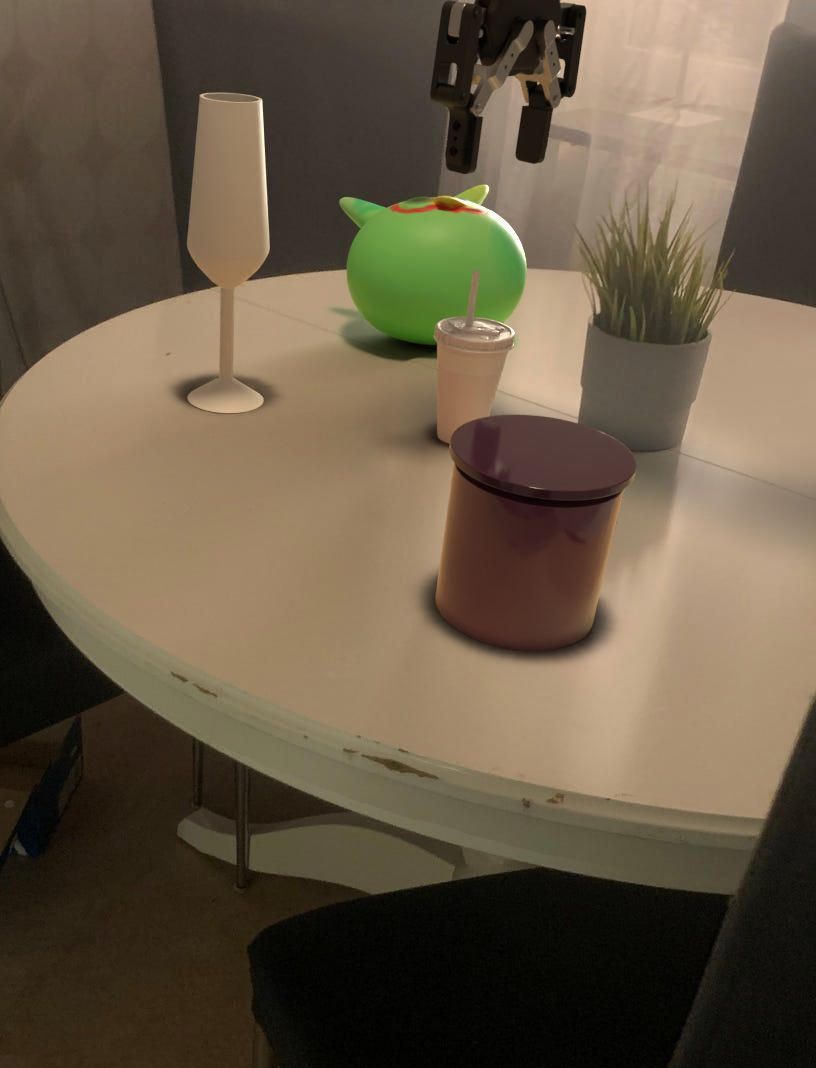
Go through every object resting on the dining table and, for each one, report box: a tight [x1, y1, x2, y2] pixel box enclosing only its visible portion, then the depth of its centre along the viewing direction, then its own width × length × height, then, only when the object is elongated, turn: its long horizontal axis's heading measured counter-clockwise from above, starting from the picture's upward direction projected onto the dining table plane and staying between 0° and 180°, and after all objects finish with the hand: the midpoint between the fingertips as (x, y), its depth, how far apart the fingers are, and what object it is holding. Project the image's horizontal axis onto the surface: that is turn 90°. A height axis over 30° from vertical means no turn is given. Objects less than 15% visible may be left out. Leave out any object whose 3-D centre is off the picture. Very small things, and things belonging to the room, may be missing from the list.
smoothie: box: [434, 271, 516, 445], centre depth 89 cm, size 6×6×14 cm
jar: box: [434, 414, 638, 651], centre depth 68 cm, size 11×11×11 cm
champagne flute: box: [186, 92, 271, 414], centre depth 91 cm, size 7×7×24 cm
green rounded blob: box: [338, 184, 528, 346], centre depth 112 cm, size 18×17×15 cm
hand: (495, 166), depth 81 cm, fingers open, 8 cm apart
